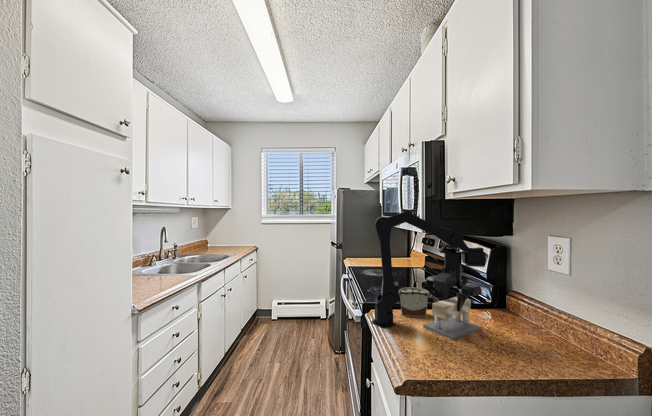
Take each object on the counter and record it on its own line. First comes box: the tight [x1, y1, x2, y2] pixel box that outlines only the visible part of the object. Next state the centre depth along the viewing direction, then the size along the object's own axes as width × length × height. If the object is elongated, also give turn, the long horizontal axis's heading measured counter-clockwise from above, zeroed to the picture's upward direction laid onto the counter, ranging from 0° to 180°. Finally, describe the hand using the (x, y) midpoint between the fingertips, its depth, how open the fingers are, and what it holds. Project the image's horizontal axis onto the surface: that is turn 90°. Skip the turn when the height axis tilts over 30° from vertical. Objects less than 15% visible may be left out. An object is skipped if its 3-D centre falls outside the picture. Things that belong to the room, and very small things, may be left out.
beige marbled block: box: [431, 296, 472, 319], centre depth 107 cm, size 16×5×4 cm, turn 125°
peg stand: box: [422, 311, 482, 341], centre depth 108 cm, size 12×16×5 cm
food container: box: [398, 286, 431, 317], centre depth 123 cm, size 12×6×10 cm, turn 84°
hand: (451, 309), depth 108 cm, fingers closed on beige marbled block, 5 cm apart
